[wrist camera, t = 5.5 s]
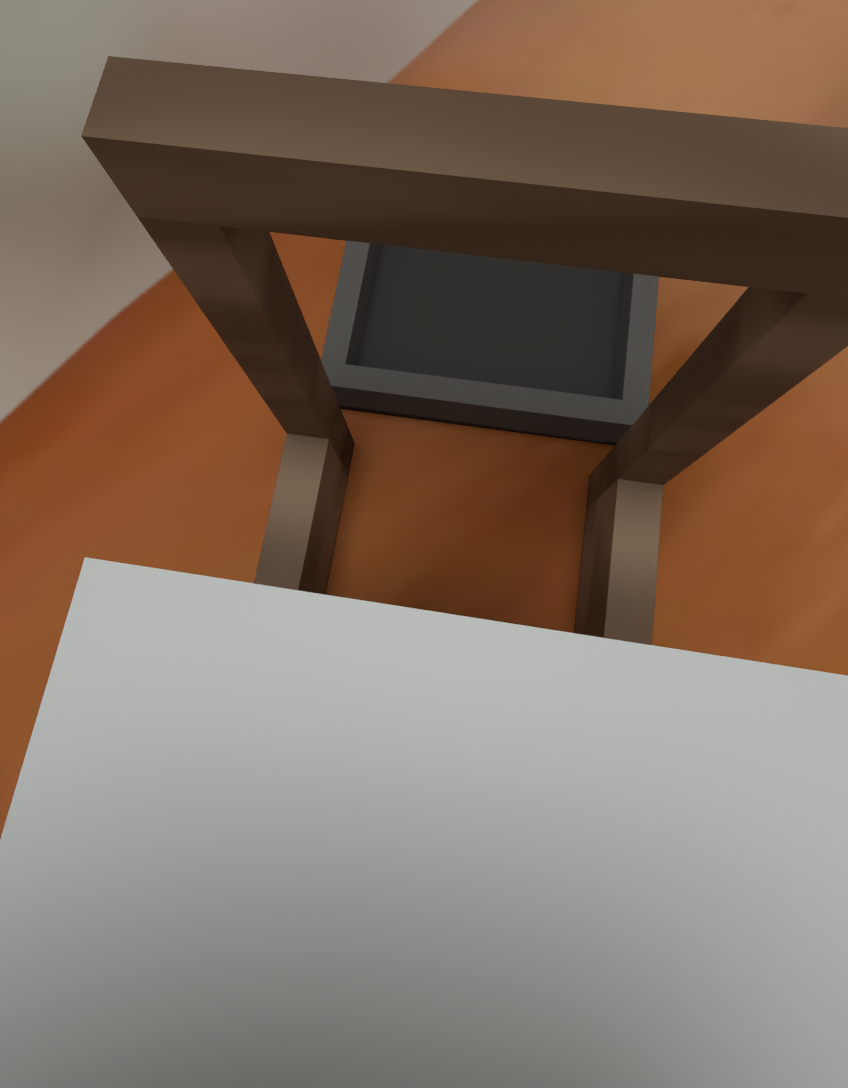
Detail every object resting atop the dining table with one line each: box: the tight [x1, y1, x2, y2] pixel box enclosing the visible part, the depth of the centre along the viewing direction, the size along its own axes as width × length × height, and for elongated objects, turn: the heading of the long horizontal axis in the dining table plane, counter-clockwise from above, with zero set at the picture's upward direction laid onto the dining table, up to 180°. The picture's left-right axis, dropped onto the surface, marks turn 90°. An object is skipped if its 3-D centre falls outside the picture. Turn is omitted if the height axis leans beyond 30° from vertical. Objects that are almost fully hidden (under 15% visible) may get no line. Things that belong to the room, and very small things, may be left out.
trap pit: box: [321, 241, 659, 445], centre depth 23 cm, size 11×13×2 cm
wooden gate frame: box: [82, 56, 848, 645], centre depth 14 cm, size 13×13×15 cm
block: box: [0, 557, 848, 1088], centre depth 9 cm, size 6×6×12 cm
